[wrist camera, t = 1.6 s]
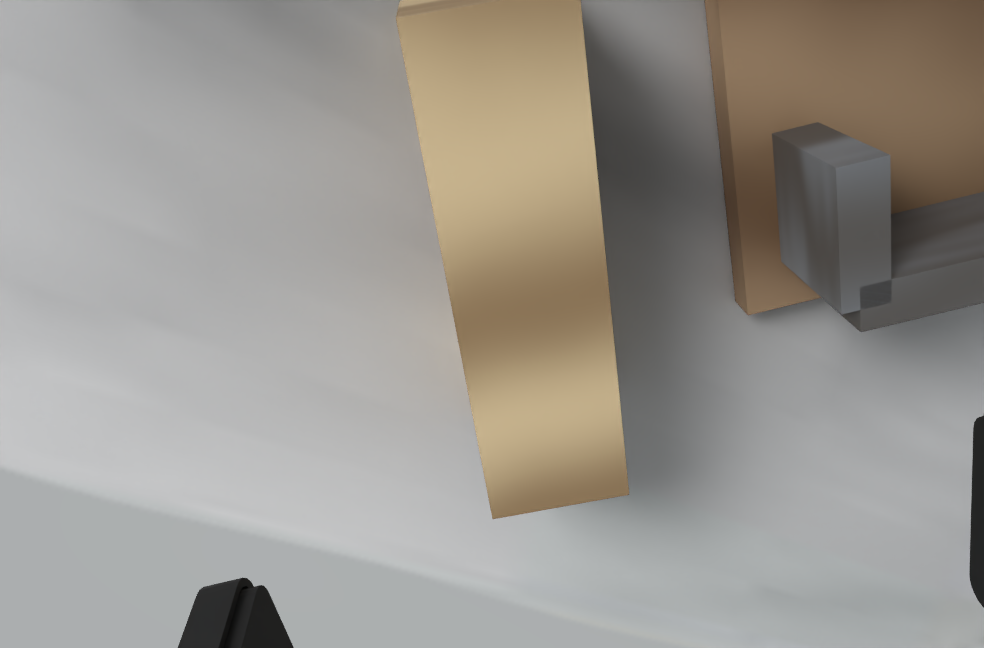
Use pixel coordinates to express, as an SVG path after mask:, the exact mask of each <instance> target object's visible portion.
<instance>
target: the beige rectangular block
mask: <svg viewBox="0 0 984 648" xmlns="http://www.w3.org/2000/svg"><path fill="white" fill-rule="evenodd" d="M396 21H397V27H398V32H399V37H400V42H401V47H402V53H403V58H404V63H405V68H406V73H407V78H408V84H409V89H410V94H411V99H412V104H413V109H414V115H415V120H416V125H417V130H418V135H419V140H420V146H421V151H422V156H423V161H424V166H425V172H426V177H427V182H428V187H429V192H430V197H431V203H432V208H433V213H434V218H435V223H436V228H437V234H438V239H439V244H440V249H441V254H442V259H443V265H444V270H445V275H446V280H447V285H448V291H449V296H450V301H451V306H452V311H453V316H454V322H455V327H456V332H457V337H458V342H459V347H460V353H461V358H462V363H463V368H464V373H465V379H466V384H467V389H468V394H469V399H470V404H471V410H472V415H473V420H474V425H475V430H476V435H477V441H478V446H479V451H480V456H481V461H482V466H483V472H484V477H485V482H486V487H487V492H488V498H489V503H490V508H491V513H492V518H493V519H496V518H502V517H508V516H513V515H519V514H524V513H530V512H535V511H541V510H546V509H552V508H558V507H563V506H569V505H574V504H580V503H585V502H591V501H597V500H602V499H608V498H613V497H619V496H624V495H629V487H628V477H627V467H626V457H625V447H624V437H623V427H622V416H621V406H620V396H619V386H618V376H617V366H616V356H615V345H614V335H613V325H612V315H611V305H610V295H609V285H608V274H607V264H606V254H605V244H604V234H603V224H602V213H601V203H600V193H599V183H598V173H597V163H596V153H595V142H594V132H593V122H592V112H591V102H590V92H589V82H588V71H587V61H586V51H585V41H584V31H583V21H582V11H581V0H403V1H400V3H399V7H398V12H397V16H396Z"/></svg>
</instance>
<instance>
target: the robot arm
mask: <svg viewBox="0 0 984 648" xmlns="http://www.w3.org/2000/svg"><path fill="white" fill-rule="evenodd" d="M970 581H971V585H972V588H973V591H974V593H975V595H976V597H977V599H978V601H979V602H980V603H981V605H982V606H983V607H984V416H982V417H979V418H977V419H976V421H975V422H974V429H973V466H972V503H971V541H970ZM178 648H293V645H292V643H291V641H290V639H289V636H288V634H287V632H286V630H285V628H284V625H283V623H282V621H281V619H280V616H279V614H278V612H277V610H276V608H275V605H274V603H273V601H272V599H271V596H270V594H269V592H268V590H267V589H266V588H265V587H264V586H262V585H261V586H256V587H254V586H253V584H252V583H251V581H250V580H248V579H247V578H240V579H236V580H232V581H227V582H223V583H219V584H214V585H211V586H206V587H203V588H202V589H201V590H199V592H198V594H197V596H196V599H195V601H194V604H193V608H192V610H191V613H190V615H189V618H188V621H187V624H186V627H185V630H184V632H183V635H182V638H181V640H180V643H179V646H178Z"/></svg>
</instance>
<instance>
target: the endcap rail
mask: <svg viewBox="0 0 984 648" xmlns="http://www.w3.org/2000/svg"><path fill="white" fill-rule="evenodd" d="M705 9H706V19H707V29H708V38H709V48H710V58H711V68H712V77H713V87H714V97H715V107H716V116H717V126H718V136H719V146H720V156H721V165H722V175H723V185H724V195H725V204H726V214H727V224H728V234H729V243H730V253H731V263H732V273H733V282H734V292H735V301H736V302H737V303H738V305H739V306H740V307H741V308H742V309H743V310H744V311H745V312H746V314H747V315H751V314H756V313H760V312H764V311H768V310H772V309H776V308H780V307H785V306H789V305H793V304H797V303H801V302H805V301H809V300H813V299H818V298H823V299H824V300H825V301H826V302H827V303H828V304H829V305H831V306H832V307H833V308H834V309H835V310H836V311H837V312H839V313H840V314H841V315H842V316H843V317H844V318H845V319H847V320H848V321H849V322H850V323H851V324H852V325H853V326H854V327H856V328H857V329H858V330H859V331H860V332H864V331H868V330H872V329H876V328H880V327H884V326H889V325H893V324H897V323H901V322H905V321H909V320H914V319H918V318H922V317H926V316H930V315H934V314H938V313H943V312H947V311H951V310H955V309H959V308H963V307H968V306H972V305H976V304H980V303H984V0H705Z"/></svg>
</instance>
